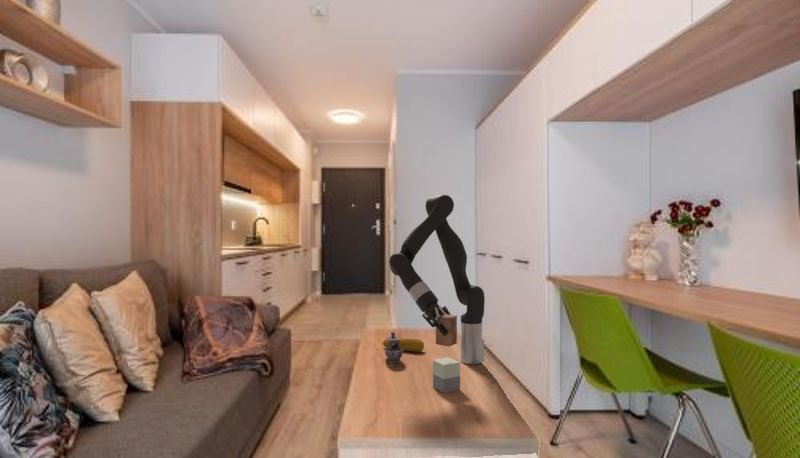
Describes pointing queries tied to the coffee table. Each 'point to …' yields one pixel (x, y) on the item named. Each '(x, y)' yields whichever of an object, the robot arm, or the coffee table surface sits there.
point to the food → (408, 345)
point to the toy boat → (394, 349)
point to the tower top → (446, 368)
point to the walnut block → (451, 327)
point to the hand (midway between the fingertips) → (450, 332)
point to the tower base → (446, 384)
